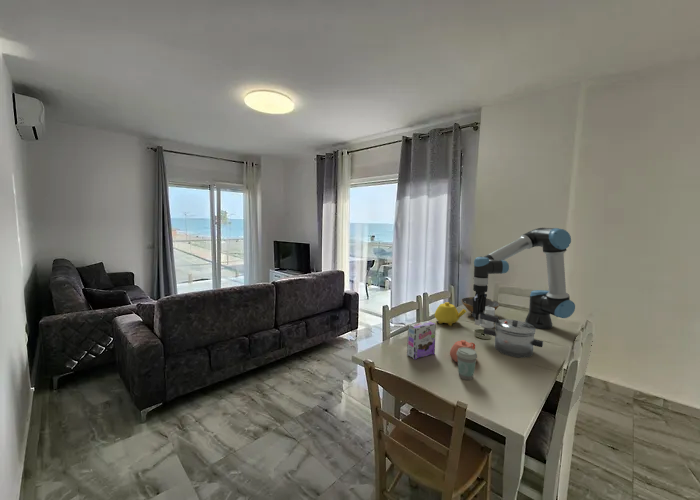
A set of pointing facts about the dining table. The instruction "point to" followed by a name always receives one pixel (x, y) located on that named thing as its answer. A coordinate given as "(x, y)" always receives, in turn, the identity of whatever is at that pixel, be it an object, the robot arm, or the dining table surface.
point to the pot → (514, 343)
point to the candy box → (421, 339)
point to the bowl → (469, 303)
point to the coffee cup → (466, 362)
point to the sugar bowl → (459, 345)
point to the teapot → (448, 313)
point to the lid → (509, 324)
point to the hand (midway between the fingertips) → (478, 323)
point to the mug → (486, 323)
